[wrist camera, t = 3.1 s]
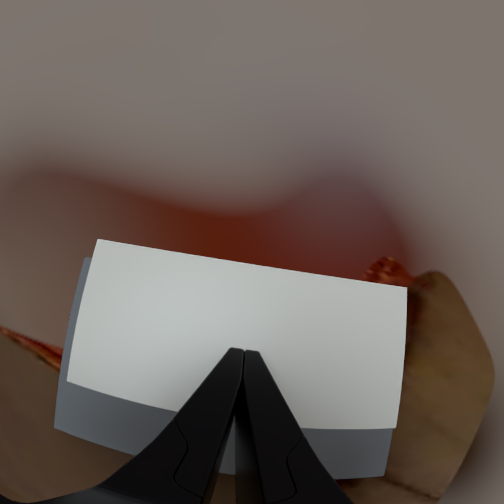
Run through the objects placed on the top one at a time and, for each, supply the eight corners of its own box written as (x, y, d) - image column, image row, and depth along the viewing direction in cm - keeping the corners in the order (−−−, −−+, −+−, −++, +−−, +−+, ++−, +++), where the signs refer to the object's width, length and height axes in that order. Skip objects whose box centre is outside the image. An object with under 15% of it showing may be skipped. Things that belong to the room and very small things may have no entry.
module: (335, 415, 16) (407, 442, 9) (131, 386, 16) (64, 397, 8) (346, 310, 18) (419, 271, 11) (151, 279, 18) (103, 220, 11)
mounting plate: (377, 472, 17) (409, 490, 13) (60, 425, 17) (25, 435, 12) (397, 309, 21) (432, 295, 17) (90, 261, 21) (62, 236, 16)
